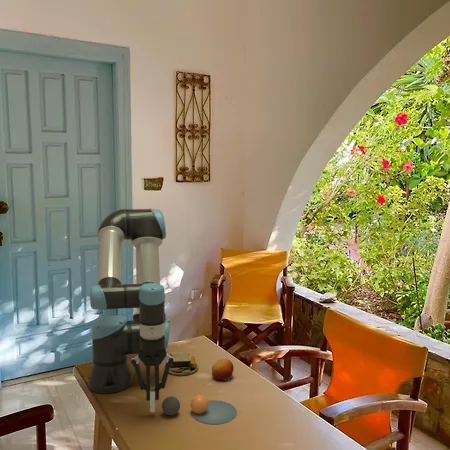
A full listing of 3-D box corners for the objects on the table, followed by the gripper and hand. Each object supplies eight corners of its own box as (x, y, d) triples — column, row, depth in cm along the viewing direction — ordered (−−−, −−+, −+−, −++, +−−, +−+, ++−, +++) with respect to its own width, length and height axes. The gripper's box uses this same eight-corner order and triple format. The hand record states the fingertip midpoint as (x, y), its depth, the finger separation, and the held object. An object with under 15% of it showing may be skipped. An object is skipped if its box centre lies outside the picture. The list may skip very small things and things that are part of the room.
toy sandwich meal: (163, 377, 170) (163, 365, 169) (166, 362, 183) (166, 350, 182) (198, 377, 170) (198, 364, 170) (198, 361, 184) (198, 350, 183)
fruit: (236, 380, 164) (225, 360, 164) (217, 389, 166) (206, 369, 166) (240, 370, 172) (229, 352, 172) (222, 379, 174) (211, 360, 174)
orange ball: (186, 397, 144) (202, 390, 144) (189, 401, 148) (205, 394, 149) (192, 414, 141) (209, 407, 141) (195, 418, 145) (211, 410, 146)
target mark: (182, 415, 143) (182, 414, 143) (208, 396, 155) (208, 396, 155) (220, 429, 136) (220, 428, 136) (244, 408, 148) (244, 408, 148)
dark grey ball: (176, 391, 144) (186, 405, 144) (166, 394, 147) (176, 408, 148) (165, 403, 140) (175, 418, 140) (155, 405, 143) (165, 420, 143)
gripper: (129, 341, 135) (130, 417, 138) (174, 339, 137) (174, 415, 140) (131, 332, 143) (131, 404, 146) (173, 330, 144) (173, 402, 147)
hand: (152, 409), depth 143 cm, fingers closed
